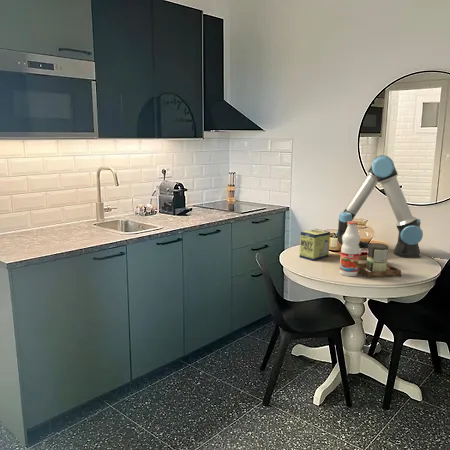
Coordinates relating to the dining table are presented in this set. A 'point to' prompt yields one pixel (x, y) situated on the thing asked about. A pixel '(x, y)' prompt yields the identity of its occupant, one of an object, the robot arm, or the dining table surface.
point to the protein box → (314, 244)
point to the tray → (389, 271)
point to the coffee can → (377, 257)
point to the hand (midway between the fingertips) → (371, 251)
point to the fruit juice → (350, 250)
